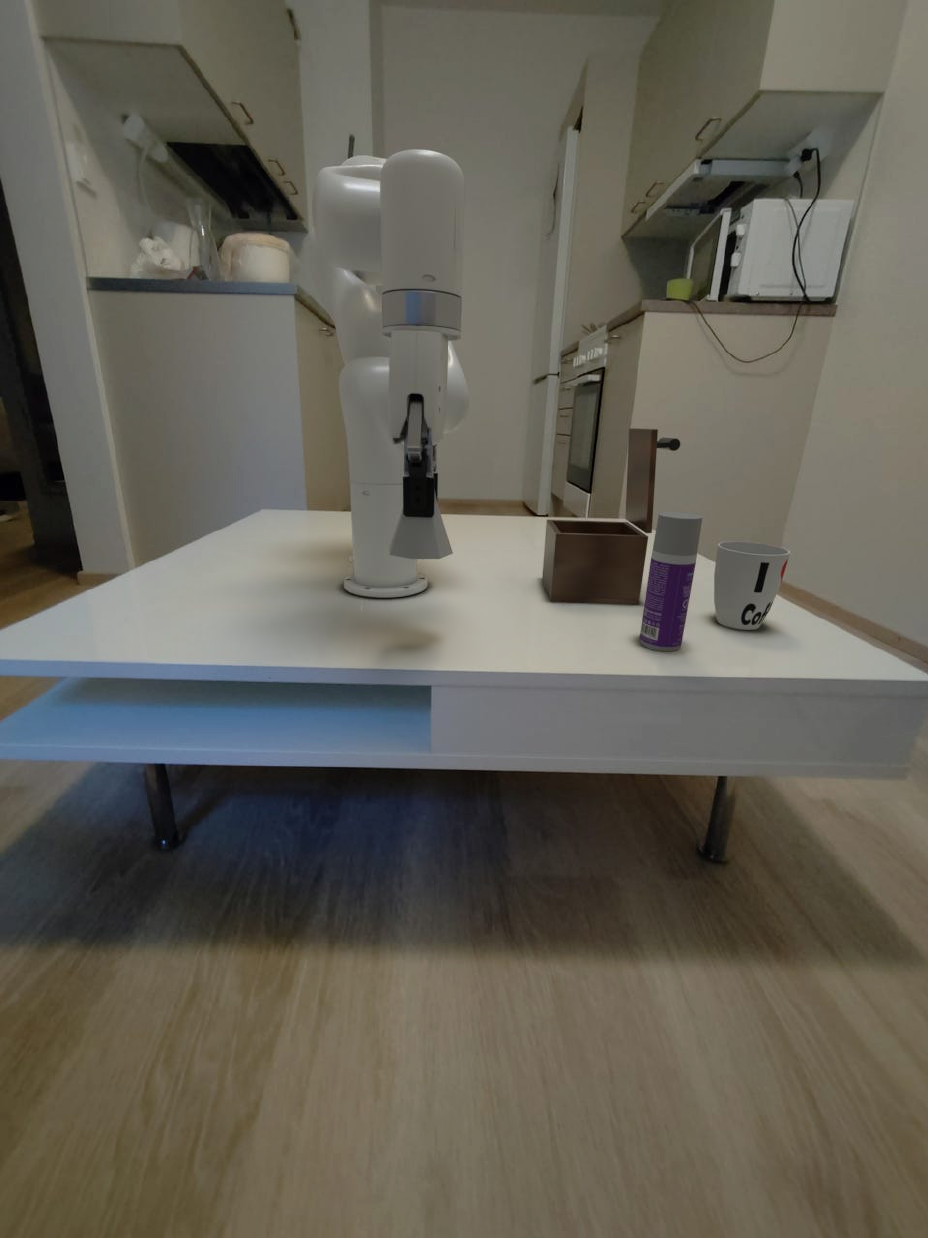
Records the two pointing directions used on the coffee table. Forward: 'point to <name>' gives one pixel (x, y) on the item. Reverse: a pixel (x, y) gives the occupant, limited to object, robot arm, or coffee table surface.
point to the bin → (593, 561)
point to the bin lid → (643, 474)
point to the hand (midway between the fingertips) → (420, 511)
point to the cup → (747, 582)
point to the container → (670, 580)
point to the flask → (421, 536)
